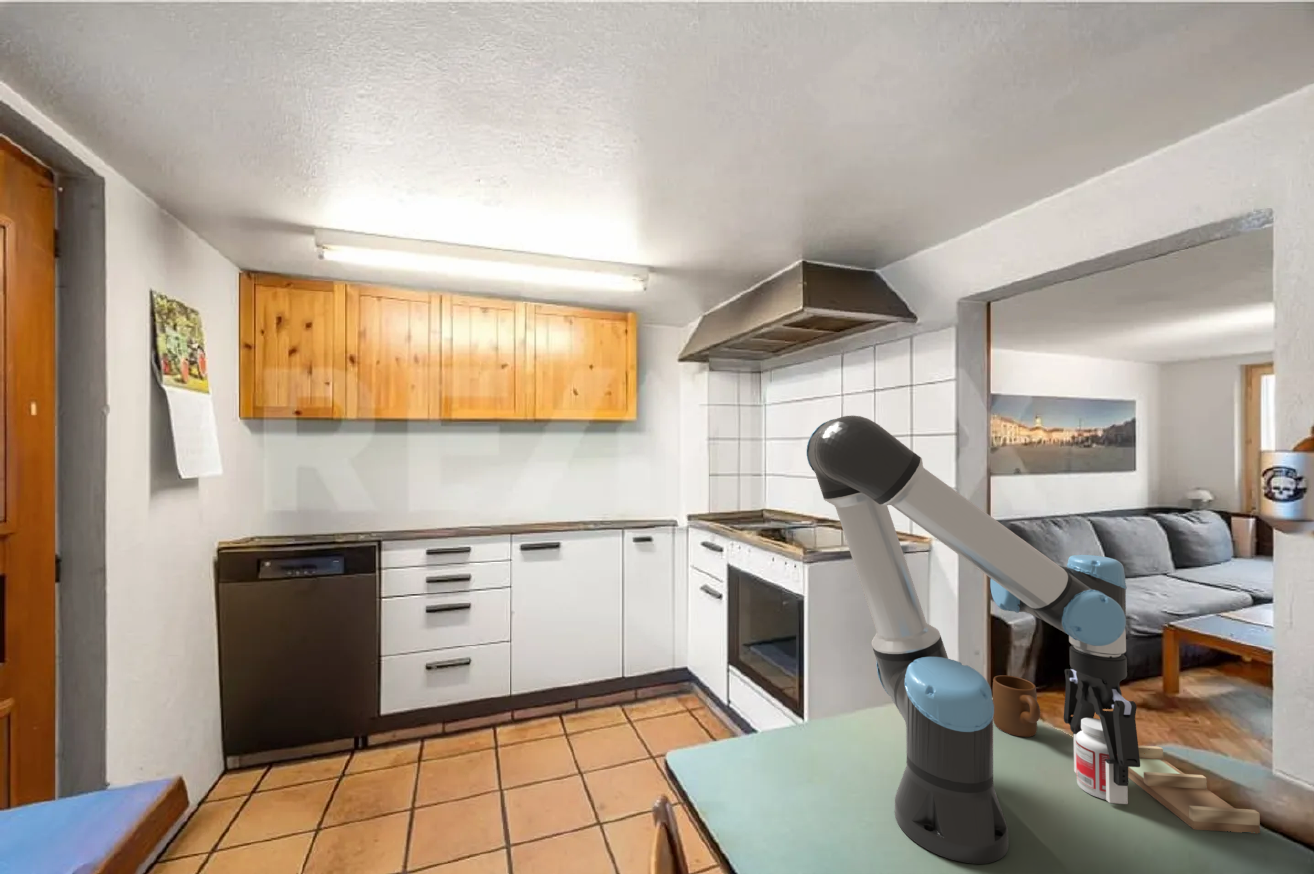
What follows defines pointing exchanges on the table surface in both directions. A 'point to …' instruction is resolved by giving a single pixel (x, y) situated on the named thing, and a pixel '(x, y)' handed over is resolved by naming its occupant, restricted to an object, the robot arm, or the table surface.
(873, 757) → the table surface
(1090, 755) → the pill bottle
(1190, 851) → the table surface
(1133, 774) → the notch board
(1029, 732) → the mug
